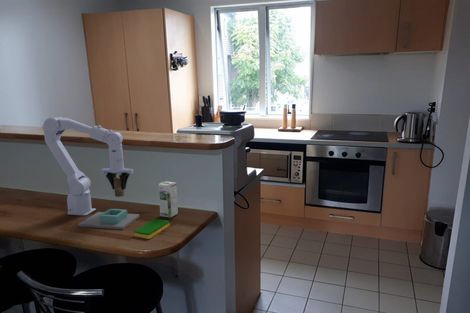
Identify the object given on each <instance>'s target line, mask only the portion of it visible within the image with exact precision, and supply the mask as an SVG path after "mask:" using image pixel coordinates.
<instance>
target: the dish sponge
mask: <svg viewBox="0 0 470 313" xmlns="http://www.w3.org/2000/svg"><path fill="white" fill-rule="evenodd" d="M170 222H171V221H170V220H165V219H159V218H154V219H152V220H150V221H149V222H148V223H145V224H144V225H142V226H140V227H138V228H137V229H135V230H134V231H133V234H134V237H135V238H142V239H147V240H149V239H152V238H153V237H155V236H156V235H158V234H159V233H161V232H162V231H164V230H165V229H167V228H168V227H170V226H171V223H170Z"/></svg>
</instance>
